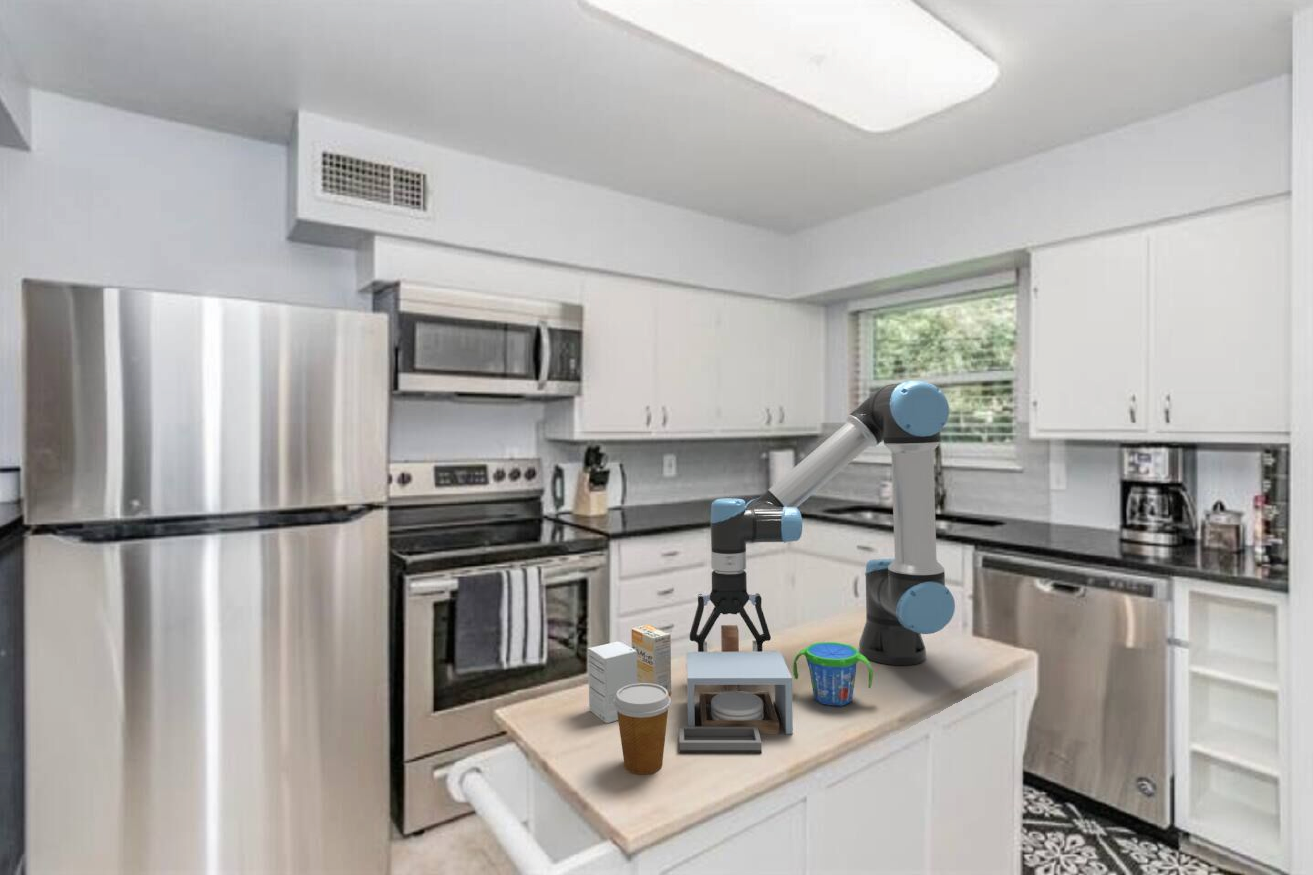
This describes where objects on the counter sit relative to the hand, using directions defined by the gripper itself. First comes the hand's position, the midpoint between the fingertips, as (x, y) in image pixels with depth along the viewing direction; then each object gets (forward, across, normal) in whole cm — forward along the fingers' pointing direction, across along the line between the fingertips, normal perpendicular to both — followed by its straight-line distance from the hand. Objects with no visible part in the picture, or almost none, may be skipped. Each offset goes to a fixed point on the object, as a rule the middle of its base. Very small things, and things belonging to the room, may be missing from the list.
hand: (730, 672), depth 145 cm
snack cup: (+2, +20, -9) cm, 22 cm away
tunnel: (+2, 0, -17) cm, 17 cm away
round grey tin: (+3, 0, -17) cm, 17 cm away
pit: (+2, -4, -28) cm, 28 cm away
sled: (+2, 0, -11) cm, 11 cm away
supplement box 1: (+2, -24, -15) cm, 28 cm away
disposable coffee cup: (+2, -17, -35) cm, 39 cm away
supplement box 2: (+2, -17, -5) cm, 18 cm away
